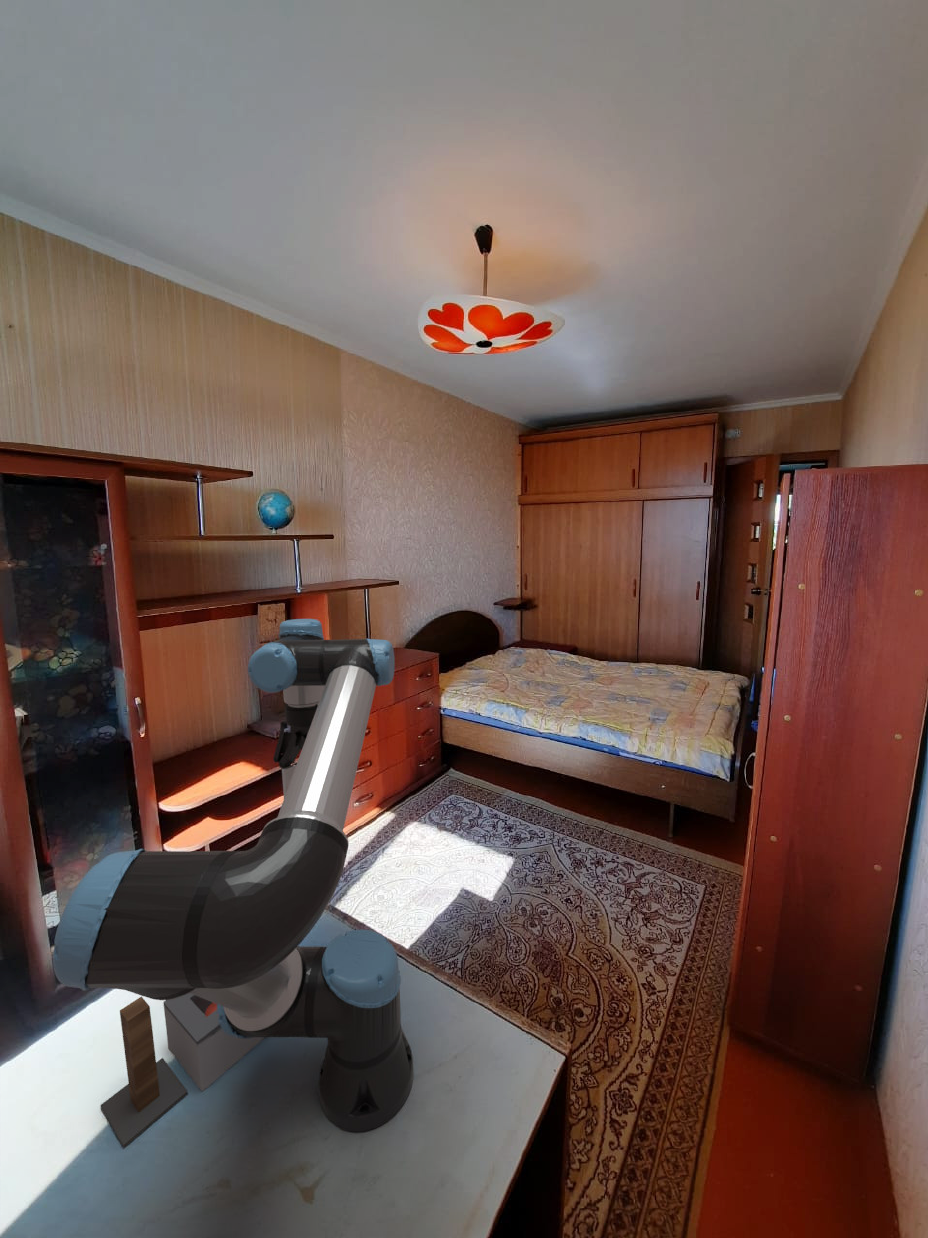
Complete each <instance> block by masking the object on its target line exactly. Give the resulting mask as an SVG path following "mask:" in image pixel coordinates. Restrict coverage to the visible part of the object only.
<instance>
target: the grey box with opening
mask: <svg viewBox="0 0 928 1238" xmlns="http://www.w3.org/2000/svg"><path fill="white" fill-rule="evenodd" d="M212 1003H213V1002H211V1001H208V1000H206V999H203V998H201V997H198V996H196V995H193V994H191V993H188V994H186V995H184V996H182V997H179V998H175V999H171V1000H163V1003H162V1004H163V1009H164V1010H163V1011H164V1021H165V1027H166V1029H165V1030H166V1031H165V1032H166V1037H167V1039H166V1040H167V1047H168V1050H169V1051H170V1052H171V1054H172V1055H173V1056H174V1058H175V1059H176V1060H177V1062H178V1063H179V1064H180V1066H181V1067H182V1068H183V1069H184V1071H185V1072H186V1073H187V1074H188V1075H189V1077H190V1079H192V1081H193V1082H194V1083H195V1084H196V1086H197V1087H198V1089H199V1090H200V1091H201V1092H204V1091H205V1090H206V1089H208V1087H210V1086H211V1085H212V1084H213V1083H215V1082H216V1080H218V1079H219V1078H220V1077H221V1076H222V1075H224V1074H225V1073H226V1072H227V1071H228V1070H229V1069H231V1067H233V1066H234V1065H235V1064H236V1063H237V1062H239V1060H241V1059H242V1058H243V1057H244V1056H245V1055H247V1054H248V1053H249V1052H250V1051H252V1049H253V1048H255V1047H256V1046H257V1045H258V1044H260V1042H262V1041H263V1040H264V1039H265V1038H266V1037H252V1038H248V1039H242V1038H238V1037H236V1036H230V1035H228V1034H226V1033H225V1032H224V1031H223V1030H222V1028H221V1027H220V1024H219V1021H218V1019H219V1016H220V1015H218V1014H217V1010H216V1011H214V1012H213V1013H212V1014H210V1015H209V1016H208V1017H206V1015H205V1012H206V1009H207V1008H208V1006H209V1005H210V1004H212Z"/></svg>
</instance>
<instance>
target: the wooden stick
mask: <svg viewBox="0 0 928 1238" xmlns="http://www.w3.org/2000/svg"><path fill="white" fill-rule="evenodd" d="M119 1015H120V1022H121V1023H120V1024H121V1025H120V1026H121V1032H122V1041H123V1049H124V1057H125V1065H126V1073H127V1074H126V1075H127V1081H128V1084H129V1090H130V1098H131V1102H132V1103H133V1105H134V1106H135V1108H136V1109H137V1111H138V1113H139V1112H140V1111H142V1110H143V1109H144V1108H145V1107H147V1106H148V1105H149V1104H150V1103H151V1102H153V1101H154V1100H155V1099H156V1098H158V1097H159V1096H160V1093H159V1084H158V1075H157V1066H156V1062H157V1060H156V1059H157V1058H156V1051H155V1042H154V1034H153V1033H154V1032H153V1023H152V1014H151V1007H150V1005H149V1003H148V1002H147V1001H146V1000H145V999H144V997H143V996H141V995H140V997H138V998H137V999H136V1000H134V1001H132V1002H130V1003H129V1004H127V1005H126V1006H124V1007H123V1008H121V1009H120V1010H119Z"/></svg>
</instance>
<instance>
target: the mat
mask: <svg viewBox="0 0 928 1238" xmlns="http://www.w3.org/2000/svg"><path fill="white" fill-rule="evenodd" d="M156 1066H157V1075H158V1084H159V1093H160V1096H159V1097H158V1098H156V1099H155V1100H154V1101H153V1102H151V1103H150V1104H149V1105H148V1106H147V1107H145V1108H144V1109H143V1110H142V1111H140V1112H139V1113H138V1111H137V1109H136V1108H135V1106H134V1105H133V1103H132V1102H131V1098H130V1090H129V1083H127V1084H126V1085H124V1087H122V1088H121V1089H120V1090H118V1091H117V1092H116V1093H114V1094H113V1095H111V1096H110V1097H109V1098H108V1099H107V1100H105V1101H104V1102H103V1103H101V1104H100V1110H101V1111H102V1113H103V1115H104V1117H105V1118H106V1120H107V1122H108V1124H109V1125H110V1127H111V1129H112V1130H113V1133H114V1134H115V1136H116V1139H118V1141H119V1142H120V1145H121V1147H122V1148H123V1149H125V1148H127V1147H128V1146H129V1145H130V1144H131V1143H132V1142H134V1141H135V1140H136V1139H137V1138H138V1137H140V1136H141V1135H142V1134H143V1133H144V1132H146V1130H148V1129H149V1128H150V1127H151V1126H153V1124H155V1123H156V1122H157V1121H159V1119H161V1118H162V1117H163V1116H164V1115H165V1114H167V1113H168V1112H169V1111H170V1110H171V1109H172V1108H174V1107H175V1106H176V1105H177V1104H178V1103H180V1102H181V1101H182V1100H183V1099H184V1098H186V1097H187V1096H188V1095H189V1091H188V1089H187V1088H186V1087H185V1085H184V1084H183V1083H182V1082H181V1080H180V1079H179V1078H178V1076H177V1074H176V1073H175V1072H174V1071H173V1069H172V1068H171V1067H170V1066H169V1064H168V1063H167V1061H166V1060H165V1059H164V1058H163V1057H161V1059H158V1061H156Z"/></svg>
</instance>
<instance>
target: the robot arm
mask: <svg viewBox="0 0 928 1238" xmlns="http://www.w3.org/2000/svg"><path fill="white" fill-rule="evenodd" d="M322 625H323V624H322V623H321V621H319V619H314V618H296V619H294V618H293V619H287V620H284V621H282V622H281V623H280V625H279V633H278V638H279V639H277V640H274V641H271V642H268V643H265V644H264V645H262V646H261V647H260V648H258V649H257V650H256V651H255V652H254V653H253V654H252V655H251V657H250V658H249V660H248V665H247V671H248V673H247V674H248V676H249V678H250V681H251V682H252V683H253V685H254V686H255V687H256V688H257V689H259V690H261V691H263V692H265V693H279V692H281V691H283V692H282V694H283V702H284V703H285V705H284V719H285V720H282V721H280V723H279V725H280V726H279V727H280V729H279V731H280V732H279V737H278V739H277V740H278V741H277V743H276V747H275V750H274V751H275V752H274V755H273V758H272V759H273V762H274V763H275V764H276V763H278V766H279V768H280V769H281V780H282V790H283V791H282V793H283V801H282V804H281V806H280V809H279V812H278V815H277V817H276V818H273V819H272V820H270V821H268V822H267V823H266V824H265V825H264V827H263V829H262V830H261V834H260V836H259V839H258V841H257V843H256V845H255V846H253V847H251V848H249V849H247V850H199V851H197V850H196V851H193V850H192V851H191V850H190V851H187V850H186V851H184V850H183V851H182V850H180V851H178V850H177V851H176V850H174V851H171V850H169V851H168V850H167V851H166V850H161V851H159V850H156V851H155V850H146V849H144V848H140V849H137V850H126V851H118V852H113V853H112V854H109V855H107V856H105V857H103V858H102V859H101V860H100V861H99V862H98V863H96V864H95V865H93V866H92V867H91V868H89V870H88V871H87V872H86V873H85V875H84V876H83V877H82V878H81V880H80V881H79V882H78V884H77V886H76V887H75V888H74V889H73V892H72V894H71V895H70V897H69V899H68V901H67V903H66V904H65V907H64V909H63V911H62V914H61V916H60V918H59V922H58V926H57V928H56V933H55V937H54V943H53V944H54V949H53V952H52V966H53V967H52V968H53V970H54V974H55V977H56V979H57V980H58V982H60V983H61V984H62V985H64V986H65V987H68V988H78V989H80V990H81V991H82V992H83V991H90V989H113V990H123V991H126V992H129V993H133V994H135V995H138V996H140V997H141V996H142V997H145V998H149V999H152V1000H156V1001H165V1000H171V999H175V998H179V997H182V996H184V995H186V994H188V993H191V994H193V995H196V996H198V997H201V998H203V999H206V1000H208V1001H211V1002H213V1003H216V1004H217V1014H218V1015H220V1016H219V1019H218V1021H219V1024H220V1027H221V1028H222V1030H223V1031H224V1032H225V1033H226V1034H228V1035H230V1036H236V1037H238V1038H242V1039H248V1038H252V1037H265V1038H308V1039H309V1038H310V1039H311V1038H312V1039H314V1038H315V1039H316V1038H317V1039H318V1038H320V1039H323V1038H324V1039H325V1038H327V1045H326V1048H325V1052H324V1057H323V1060H322V1062H321V1066H320V1070H319V1075H318V1097H319V1103H320V1106H321V1109H322V1111H323V1113H324V1115H325V1117H326V1118H327V1120H329V1122H331V1123H332V1124H333V1125H334V1126H336V1127H337V1128H339V1129H341V1130H345V1131H348V1132H354V1133H355V1132H356V1133H357V1132H358V1133H359V1132H366V1131H370V1130H374V1129H375V1128H378V1127H381V1126H382V1125H383V1124H386V1123H387V1122H388V1121H389V1120H391V1119H392V1118H393V1117H394V1116H396V1114H398V1112H400V1110H401V1109H402V1107H403V1106H404V1104H405V1103H406V1100H407V1099H408V1097H409V1094H410V1092H411V1089H412V1086H413V1083H414V1082H413V1080H414V1059H413V1057H414V1056H413V1053H412V1048H411V1046H410V1043H409V1041H408V1039H407V1036H406V1034H405V1032H404V1030H403V1027H402V1024H401V1023H402V1022H401V1021H402V1018H401V994H400V993H401V992H400V991H401V973H400V972H401V971H400V970H399V961H398V960H399V959H398V955H397V951H396V948H395V947H394V945H393V944H392V943H391V942H389V940H388V939H387V937H385V936H384V935H382V934H381V933H379V932H377V931H375V930H369V929H352V930H348V931H345V934H344V935H343V934H339V935H337V936H336V937H335V938H333V939H332V940H331V941H330V943H329V944H328V945H327V946H322V945H321V946H314V945H313V946H311V945H310V946H299V945H300V944H301V943H302V942H303V941H304V939H305V938H307V936H308V935H309V934H310V932H311V931H312V930H313V929H314V927H315V925H316V924H317V923H318V922H319V920H320V919H321V917H322V915H323V914H324V912H325V911H326V909H327V907H328V905H329V903H330V902H331V900H332V898H333V896H334V895H335V892H336V891H337V888H338V885H339V883H340V880H341V877H342V875H343V872H344V869H345V868H344V867H345V862H346V859H347V854H348V851H349V844H350V843H349V839H348V837H347V835H346V834H345V832H344V827H345V823H346V820H347V816H348V815H347V814H348V809H349V806H350V803H351V802H350V801H351V798H352V793H353V788H354V784H355V780H356V779H355V778H356V776H357V770H358V766H359V764H360V763H359V761H360V759H361V758H360V757H361V753H362V749H363V744H364V740H365V737H366V736H365V735H366V732H367V731H366V730H367V727H368V724H369V718H370V714H371V709H372V705H373V700H374V697H375V692H376V689H377V688H376V687H381V686H387V685H389V684H391V683H392V681H393V680H394V675H395V663H396V662H395V651H394V646H393V644H392V643H391V642H390V641H389V640H387V639H377V638H376V639H375V638H371V639H370V638H362V639H361V638H360V639H359V638H358V639H357V638H355V639H352V638H351V639H348V638H347V639H325V637H324V633H323V626H322ZM298 755H299V757H298ZM297 757H298V760H297V762H296V759H297ZM295 763H296V764H295Z"/></svg>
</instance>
